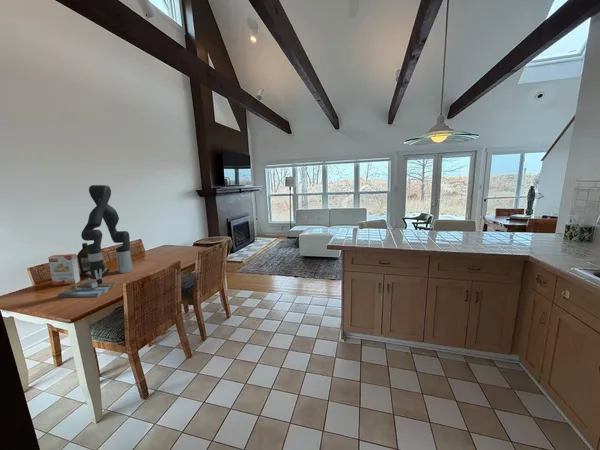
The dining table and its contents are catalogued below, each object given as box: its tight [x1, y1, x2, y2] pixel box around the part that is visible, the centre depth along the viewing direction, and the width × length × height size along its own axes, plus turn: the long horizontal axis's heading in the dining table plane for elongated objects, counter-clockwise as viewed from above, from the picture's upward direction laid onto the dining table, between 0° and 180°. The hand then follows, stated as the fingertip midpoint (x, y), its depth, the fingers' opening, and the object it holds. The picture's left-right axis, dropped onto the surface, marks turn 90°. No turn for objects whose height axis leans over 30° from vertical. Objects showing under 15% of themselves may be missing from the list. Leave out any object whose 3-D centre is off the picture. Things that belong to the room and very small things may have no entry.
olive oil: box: [76, 242, 94, 277], centre depth 198 cm, size 11×11×25 cm
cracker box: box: [47, 253, 81, 286], centre depth 179 cm, size 14×6×21 cm, turn 101°
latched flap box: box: [57, 281, 117, 298], centre depth 167 cm, size 17×24×6 cm
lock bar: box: [84, 277, 98, 288], centre depth 169 cm, size 14×3×4 cm, turn 55°
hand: (99, 283), depth 170 cm, fingers closed
